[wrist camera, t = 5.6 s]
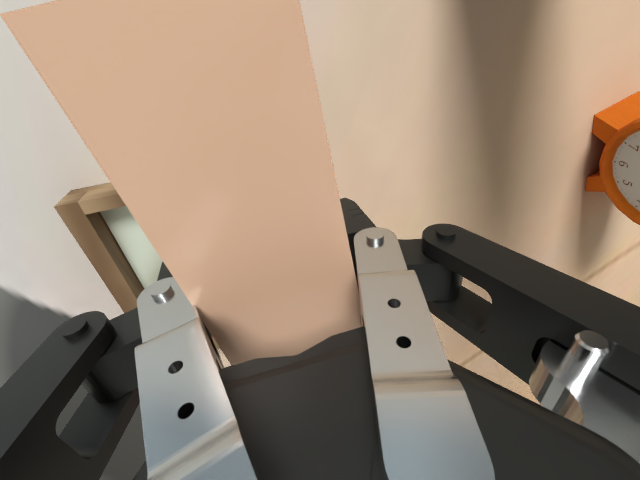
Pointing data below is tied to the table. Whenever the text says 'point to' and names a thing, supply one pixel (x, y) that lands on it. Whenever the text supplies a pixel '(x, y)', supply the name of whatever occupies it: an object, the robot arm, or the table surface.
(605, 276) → the table surface
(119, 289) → the picture frame
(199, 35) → the strip
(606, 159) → the alarm clock
